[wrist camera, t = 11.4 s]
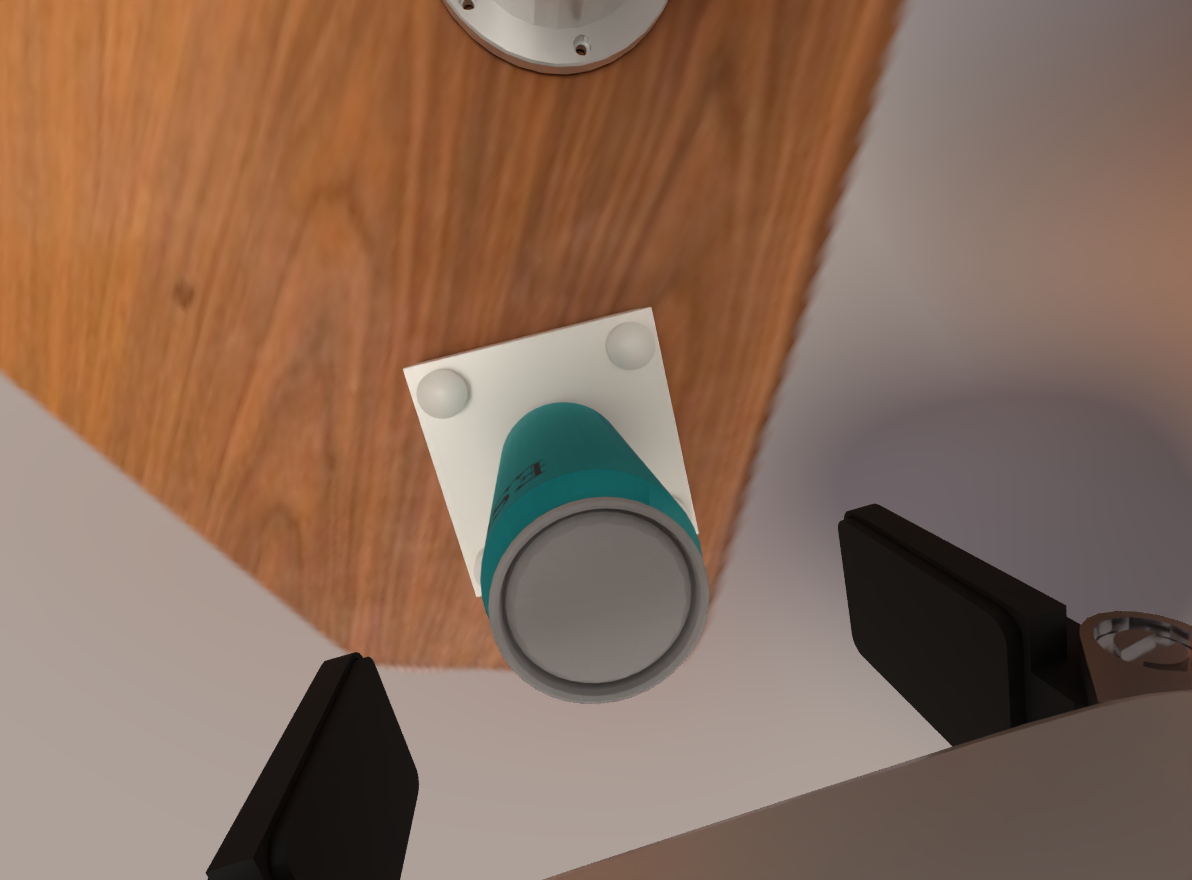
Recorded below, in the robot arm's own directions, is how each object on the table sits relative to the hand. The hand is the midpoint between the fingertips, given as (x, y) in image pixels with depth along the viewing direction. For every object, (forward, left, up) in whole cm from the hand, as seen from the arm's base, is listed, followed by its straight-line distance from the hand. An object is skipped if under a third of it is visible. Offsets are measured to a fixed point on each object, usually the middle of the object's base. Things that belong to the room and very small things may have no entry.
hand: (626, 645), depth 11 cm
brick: (0, 0, -21) cm, 21 cm away
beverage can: (0, 0, -17) cm, 17 cm away
